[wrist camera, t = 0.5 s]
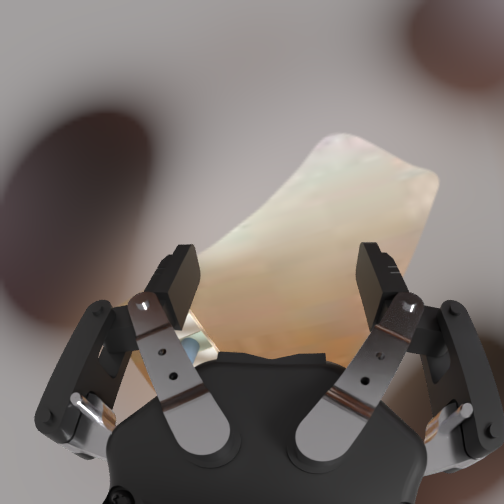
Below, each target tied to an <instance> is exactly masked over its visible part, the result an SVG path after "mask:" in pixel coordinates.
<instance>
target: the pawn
mask: <svg viewBox="0 0 504 504" xmlns="http://www.w3.org/2000/svg"><path fill="white" fill-rule="evenodd" d="M181 344H182V346H183V348H184V350H185V351H186V353H187V355H188V357H189V359H190V360H191V362H192V364H193V363H194V360H195V358H196V356H197V353H198V351H199V348H200V346H199V343H198V342H197V341H196V340H195V339H193V338H184V339H183V340H182V342H181Z"/></svg>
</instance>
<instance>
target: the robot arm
mask: <svg viewBox="0 0 504 504" xmlns="http://www.w3.org/2000/svg"><path fill="white" fill-rule="evenodd" d="M199 282H200V268H199V264H198V259H197V255H196V250H195V247H194V245H193V244H190V245H178V246H177V247H176V249H175V251H174V253H173V254H172V255H168V256H166V257H165V258H164V259H163V260H162V261H161V262H160V264H159V266H158V269H157V270H156V271H155V273H154V275H153V276H152V278H151V280H150V281H149V283H148V285H147V287H146V289H145V290H144V292H141V293H138V294H136V295H135V296H133V297H132V298H131V299H130V300H129V302H128V305H125V306H120V307H115V308H113V307H112V306H111V304H110V302H109V301H107V300H99V301H96V302H94V303H92V304H91V305H90V306H89V307H88V308H87V309H86V311H85V313H84V315H83V316H82V318H81V320H80V322H79V323H78V325H77V327H76V329H75V330H74V332H73V334H72V336H71V338H70V340H69V342H68V344H67V345H66V347H65V349H64V352H63V353H62V355H61V357H60V359H59V361H58V363H57V365H56V368H55V369H54V372H53V374H52V376H51V378H50V380H49V382H48V385H47V387H46V389H45V391H44V394H43V396H42V398H41V401H40V403H39V406H38V408H37V411H36V413H35V425H36V428H37V429H38V430H39V431H40V432H41V433H43V434H44V435H45V436H47V437H48V438H50V439H51V440H53V441H54V442H56V443H58V444H59V445H61V446H62V447H64V448H66V449H68V450H69V451H71V452H72V453H74V454H76V455H78V456H80V457H81V458H84V459H87V460H90V459H94V458H98V459H101V460H104V461H107V462H108V466H109V473H110V489H109V492H108V495H107V497H106V499H105V501H104V502H103V504H415V499H416V495H417V491H418V488H419V485H420V482H421V480H422V478H423V476H426V475H430V474H434V473H437V472H441V471H443V472H445V473H454V472H456V471H458V470H460V469H462V468H466V467H468V466H470V465H472V464H474V463H476V462H477V461H479V460H481V459H483V458H484V457H486V456H487V455H488V454H490V453H491V452H493V451H495V450H496V449H498V448H499V447H500V446H501V445H502V444H503V443H504V413H503V409H502V405H501V401H500V397H499V394H498V390H497V387H496V384H495V380H494V377H493V374H492V371H491V368H490V366H489V363H488V360H487V357H486V354H485V352H484V349H483V347H482V344H481V342H480V339H479V337H478V334H477V332H476V330H475V327H474V325H473V323H472V321H471V318H470V316H469V314H468V312H467V310H466V308H465V307H464V306H463V305H462V304H460V303H459V302H457V301H454V300H447V301H445V302H443V304H442V305H441V308H434V307H429V306H425V305H424V303H423V301H422V299H421V298H420V297H419V296H417V295H416V294H414V293H411V292H409V290H408V288H407V286H406V284H405V282H404V280H403V278H402V276H401V273H400V271H399V269H398V267H397V265H396V263H395V261H394V259H393V258H392V257H391V256H390V255H388V254H387V253H381V251H380V249H379V246H378V244H377V243H376V242H361V244H360V248H359V254H358V260H357V266H356V282H357V285H358V289H359V292H360V296H361V299H362V303H363V306H364V310H365V314H366V318H367V322H368V326H369V330H370V332H371V333H370V335H369V336H368V338H367V339H366V341H365V342H364V344H363V345H362V347H361V348H360V350H359V351H358V353H357V354H356V356H355V357H354V358H353V360H352V361H351V363H350V364H349V365H348V367H347V368H344V367H343V366H341V365H338V364H336V363H333V362H329V361H326V356H325V353H317V354H296V355H291V356H287V357H282V358H277V359H266V358H262V357H258V356H254V355H250V354H246V353H235V352H218V356H217V359H214V360H210V361H206V362H204V363H201V364H199V365H197V366H195V367H194V366H193V364H192V362H191V360H190V359H189V357H188V355H187V353H186V351H185V350H184V348H183V346H182V344H181V342H180V340H179V338H178V336H177V334H176V333H175V331H174V330H178V331H182V329H183V326H184V323H185V320H186V318H187V315H188V312H189V309H190V306H191V304H192V301H193V298H194V295H195V293H196V290H197V287H198V285H199ZM102 345H103V346H104V347H103V349H102V352H101V354H100V356H99V352H100V349H101V347H102ZM134 350H140V353H141V356H142V358H143V361H144V364H145V366H146V369H147V372H148V374H149V377H150V379H151V382H152V384H153V387H154V389H155V391H156V394H157V396H156V397H155V398H153V399H152V400H151V401H150V402H148V403H147V404H146V405H144V406H143V407H142V408H140V409H139V410H137V411H136V412H135V413H134V414H132V415H131V416H129V417H128V418H127V419H125V420H124V421H123V422H121V423H120V424H119V425H117V426H116V425H115V424H116V417H115V414H114V412H113V411H112V409H113V406H114V402H115V399H116V396H117V393H118V390H119V387H120V384H121V382H122V379H123V376H124V373H125V370H126V367H127V365H128V362H129V359H130V356H131V354H132V351H134ZM406 352H410V353H416V354H420V357H421V361H422V365H423V369H424V373H425V378H426V383H427V387H428V392H429V397H430V403H431V408H432V414H433V418H432V419H431V420H430V422H429V423H428V425H427V428H426V437H425V441H424V442H423V441H422V439H421V437H420V436H419V435H418V434H417V433H416V432H415V431H414V430H412V429H411V428H410V427H409V426H408V425H407V424H406V423H405V422H404V421H403V420H401V418H400V417H399V416H397V415H396V414H395V413H394V412H393V411H392V410H391V409H390V408H389V407H388V406H387V405H386V404H385V403H384V402H382V401H381V398H382V396H383V395H384V393H385V391H386V389H387V388H388V386H389V384H390V382H391V380H392V378H393V377H394V375H395V373H396V371H397V369H398V367H399V365H400V363H401V361H402V359H403V357H404V355H405V353H406ZM98 356H99V358H98Z"/></svg>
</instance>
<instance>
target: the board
mask: <svg viewBox="0 0 504 504" xmlns="http://www.w3.org/2000/svg"><path fill="white" fill-rule="evenodd" d="M174 331H175V333H176V334H177V336H178V338H179V340H180V342H182V340H183V339H184V338H193V339H195V340H196V341H197V342H198V343H199V346H200V348H199V351H198V353H197V356H196V358H195V360H194V363H193V366H194V367H195V366H197V365H199V364H201V363H204V362H206V361H210V360H214V359H217V356H218V352H220V351H219V349H218V348H217V347H216V345H215V344H214V343H213V341H212V340H211V338H210V337H209V336H208V334H207V333H206V331H205V330H204V328H203V327H202V326H201V324H200V323H199V321H198V320H197V318H196V317H195V315H194V314H193V312H192V311H191V309H189V312H188V315H187V318H186V320H185V323H184V326H183V329H182V331H178V330H174Z"/></svg>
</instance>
